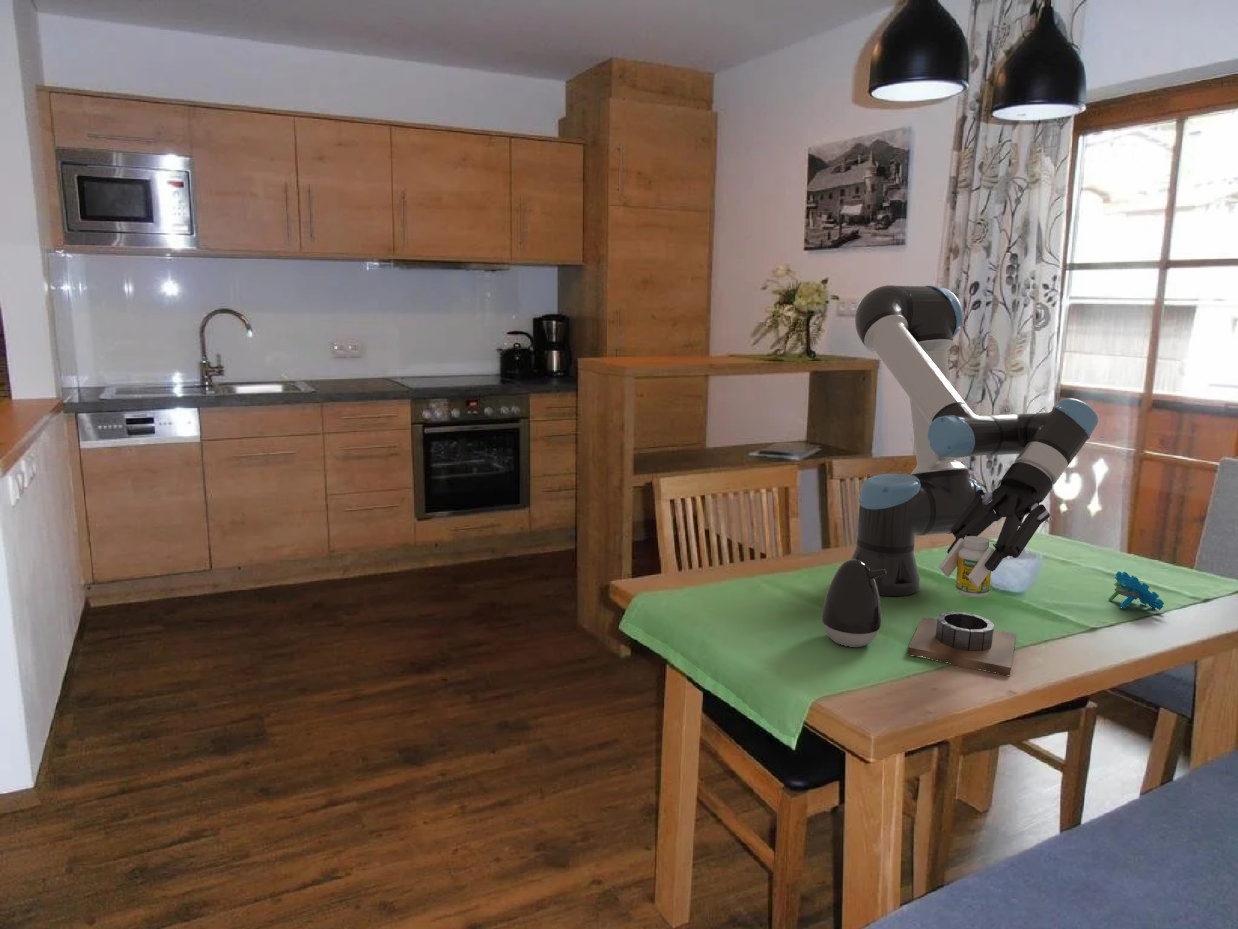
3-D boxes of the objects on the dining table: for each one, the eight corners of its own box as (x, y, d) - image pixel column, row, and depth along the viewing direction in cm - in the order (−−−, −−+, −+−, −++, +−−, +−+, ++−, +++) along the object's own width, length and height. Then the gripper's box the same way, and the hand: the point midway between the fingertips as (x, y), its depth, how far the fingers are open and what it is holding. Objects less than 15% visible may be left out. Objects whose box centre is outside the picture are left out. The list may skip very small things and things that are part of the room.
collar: (932, 644, 145) (934, 625, 144) (939, 626, 153) (941, 608, 152) (989, 655, 141) (991, 635, 140) (993, 636, 148) (995, 618, 148)
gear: (1176, 610, 163) (1143, 574, 162) (1154, 631, 163) (1121, 595, 162) (1138, 597, 174) (1107, 563, 173) (1118, 617, 174) (1086, 583, 173)
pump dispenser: (871, 658, 142) (878, 573, 139) (812, 644, 147) (817, 562, 144) (887, 638, 151) (894, 557, 148) (830, 625, 156) (836, 547, 153)
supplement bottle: (986, 589, 146) (992, 536, 144) (990, 599, 141) (996, 544, 139) (953, 585, 148) (958, 533, 146) (956, 595, 143) (961, 541, 141)
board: (907, 655, 144) (908, 647, 143) (921, 624, 157) (922, 616, 157) (1009, 676, 136) (1010, 667, 136) (1015, 641, 150) (1016, 633, 150)
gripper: (1090, 498, 140) (1013, 607, 136) (997, 477, 156) (926, 574, 152) (1074, 470, 136) (994, 580, 132) (980, 451, 152) (906, 549, 148)
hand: (958, 576), depth 142 cm, fingers closed on supplement bottle, 5 cm apart
